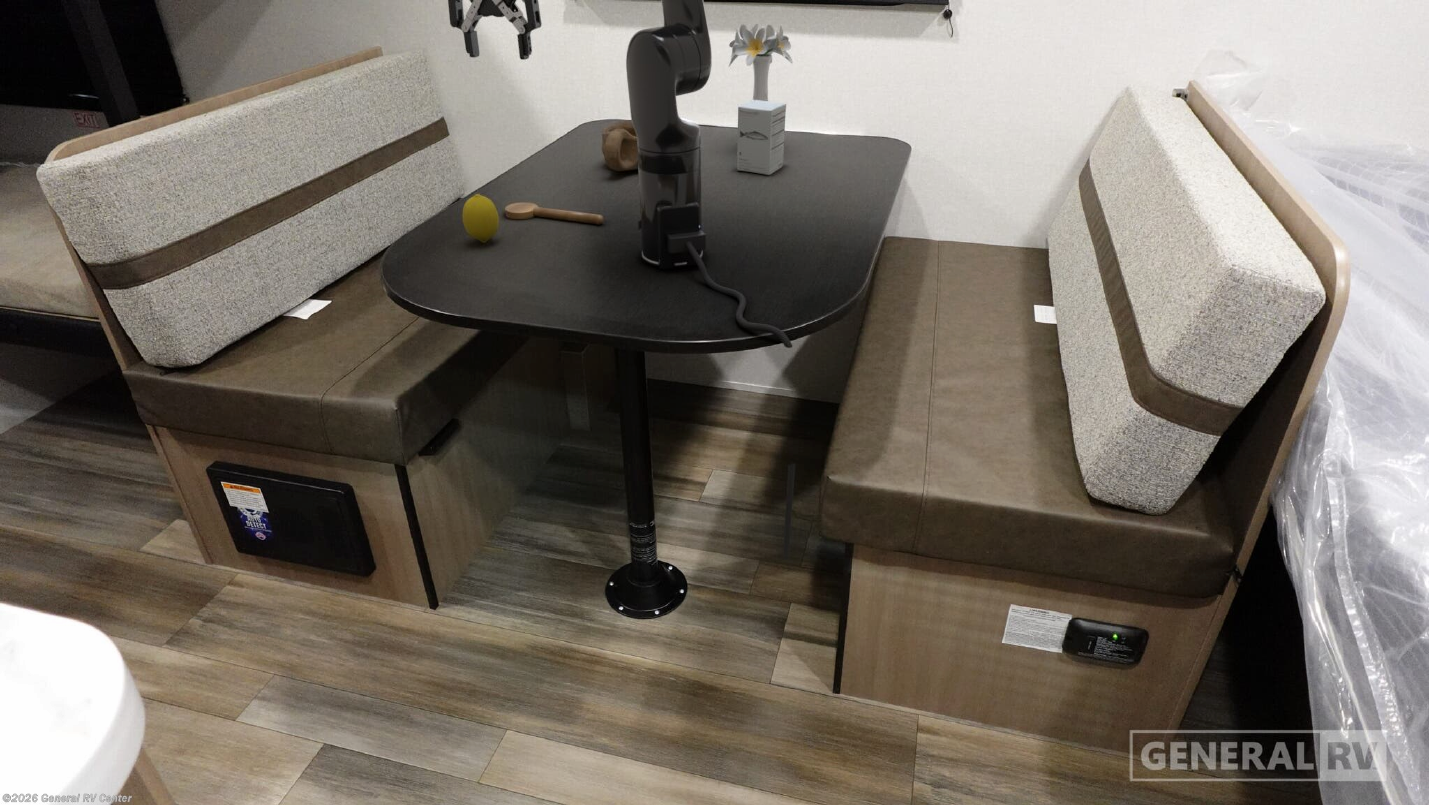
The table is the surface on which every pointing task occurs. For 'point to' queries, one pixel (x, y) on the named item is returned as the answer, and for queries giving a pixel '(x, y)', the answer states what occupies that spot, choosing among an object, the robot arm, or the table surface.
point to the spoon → (549, 213)
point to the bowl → (620, 146)
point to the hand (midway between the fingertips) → (499, 57)
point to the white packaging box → (760, 136)
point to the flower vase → (760, 53)
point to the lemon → (480, 218)
